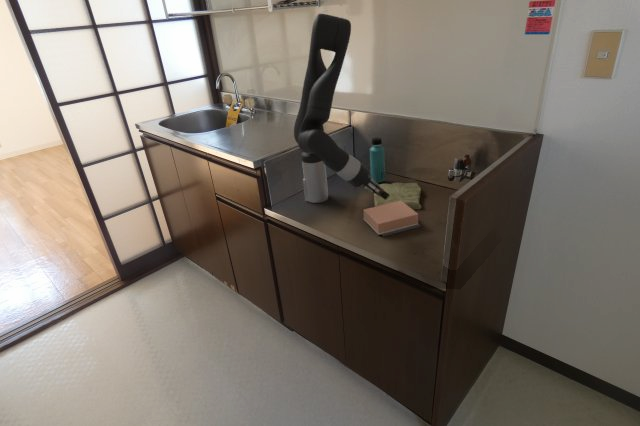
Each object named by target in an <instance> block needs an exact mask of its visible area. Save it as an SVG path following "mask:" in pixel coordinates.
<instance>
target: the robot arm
mask: <svg viewBox="0 0 640 426" xmlns="http://www.w3.org/2000/svg"><path fill="white" fill-rule="evenodd" d="M312 24H313V25H312V29H311V34H310V43H309V53H308V60H307V61H308V62H307V67H306V70H305V71H306V72H305V77H304V81H303V86H302V90H301V91H302V92H301V98H300V103H299V108H298V112H297V115H296V118H295V122H294V124H293V125H294V126H293V137H294V141H295V142H296V144H297V145H298V147H299V149H300V150H301V151H302V153H301V155H300V156H301V157H300V158H301V164H302V171H303V174H302V175H303V179H302V186H303V192H304V193H303V194H304V202H309V203H312V204H317V203H323V202H325V201H327V200H328V199H329V190H328V179H327V170H326V169H327V168H329V169H330V170H331V171H333V172H334V173H335V174H336V175H337V176H339V177H340V178H341V179H342V180H344V181H345V182H347V183H348V184H350V185H351V186H352V187H354V188H359V187H363V188H364V189H365V190H366V191H370V192H371V193H372V194H373V195H374V194H377V195H378V196H381V197H382V198H384V199H385V200H386V199H387V198H388V197H389V194H388V193H387V192H385V191H384V189H382V188H380V184H379V182H375V180H374V179H372V178H371V175H370V168H368V167H367V166H366V165H365V164H364V163H362V162H361V161H359V159H357V158H355V157H354V156H352V155H351V154H349V153H348V152H347V151H345V149H343V148H341V147H340V146H339V145H338V144H337V142H335V140H334V139H333V138H332V137H331V136H330V135H329V134H328V133H326V132H325V128H324V124H326V123H327V122H328V121H329V120H330V115H331V112H332V111H331V110H332V106H333V105H332V104H333V100H334V95H335V90H336V88H337V84H338V81H339V77H340V75H341V72H342V69H343V65H344V62H345V58H346V55H347V49H348V46H349V43H350V39H351V35H352V34H351V33H352V23H351V21H350V20H349V19H347V18H344V17H339V16H336V15H335V16H334V15H331V14H328V13H326V14H325V13H318V14H316V16H315V18H314V20H313V23H312ZM322 50H325V51H328V52H333V53H335V54H334V57H333V59H332V61H331V63H330V65H329V66H328V67H326V65H325V63H324V59H323V56H322V52H321V51H322ZM326 167H327V168H326Z"/></svg>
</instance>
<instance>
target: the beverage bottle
mask: <svg viewBox="0 0 640 426" xmlns="http://www.w3.org/2000/svg"><path fill="white" fill-rule="evenodd" d="M371 139H372V140H371V145H372V146H371V147H370V148H369V162H370V163H369V165H370V166H369V167H370V168H369V176H370V177H371V178H372V179H374V180H375V182H376V183H382V182H385V180H386V177H387V176H386V164H385V163H386V158H385V156H386V155H385V148H384V146H383V145H381V144H382V142H383V141H382V138H381V137H374V138H371Z"/></svg>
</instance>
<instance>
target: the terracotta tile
mask: <svg viewBox="0 0 640 426" xmlns="http://www.w3.org/2000/svg"><path fill="white" fill-rule="evenodd" d="M363 220H364V221H365V222H366V223H367V224H368V225H369V227H371V229H372V230H373V231H374V232H375V233H376V234H377V235H381V234H383V233H387V232H390V231H394V230H398V229H402V228H406V227H410V226H413V225H417V224H419V213H417V212H416V211H415V209H411V208H410V207H409V206H407V205H406V204H405V203H403V202H402V201H397V202H393V203H389V204H385V205H380V206H376V207H375V206H373V207H368V208H364V209H363Z"/></svg>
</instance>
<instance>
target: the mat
mask: <svg viewBox="0 0 640 426" xmlns="http://www.w3.org/2000/svg"><path fill="white" fill-rule="evenodd" d="M417 228H420V223H418V224H417V225H413V226H410V227H406V228H402V229H398V230H394V231H390V232H387V233H383V234H380V235H381V237H387V236H389V235H395V234H397V233H402V232H404V231H408V230H412V229H417Z"/></svg>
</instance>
